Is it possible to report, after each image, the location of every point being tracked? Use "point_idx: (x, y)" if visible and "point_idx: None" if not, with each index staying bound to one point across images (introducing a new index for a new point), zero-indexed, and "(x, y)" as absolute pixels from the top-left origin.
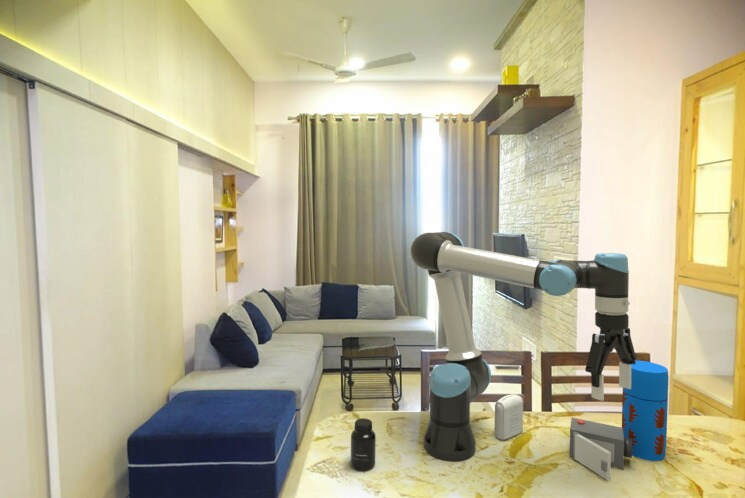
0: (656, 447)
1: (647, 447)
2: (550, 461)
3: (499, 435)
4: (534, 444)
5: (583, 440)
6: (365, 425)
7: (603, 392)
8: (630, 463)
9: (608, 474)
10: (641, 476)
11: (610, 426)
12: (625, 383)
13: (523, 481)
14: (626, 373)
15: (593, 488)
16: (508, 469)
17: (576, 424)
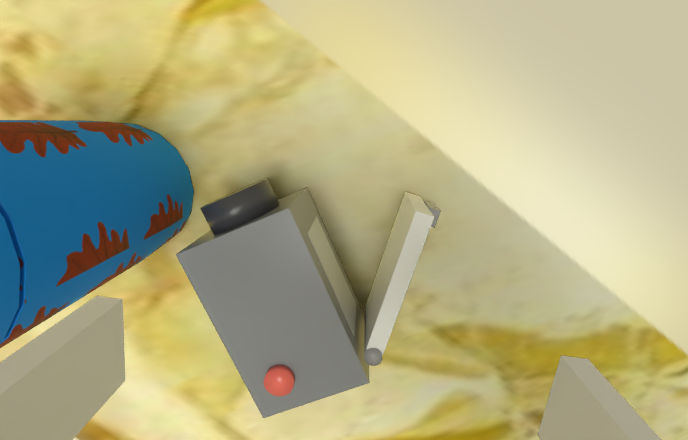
0: (136, 137)
1: (160, 161)
2: (442, 348)
3: None
4: (386, 419)
5: (395, 316)
6: None
7: (607, 405)
8: None
9: (414, 197)
10: (298, 135)
11: (208, 290)
12: (97, 357)
13: (607, 350)
14: (2, 431)
15: (486, 207)
16: None
17: (309, 382)
